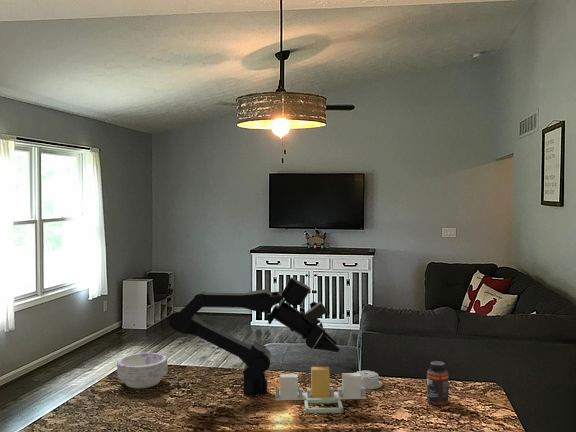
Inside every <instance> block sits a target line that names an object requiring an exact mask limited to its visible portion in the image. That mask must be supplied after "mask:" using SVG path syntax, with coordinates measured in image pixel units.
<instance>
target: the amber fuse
mask: <svg viewBox="0 0 576 432" xmlns="http://www.w3.org/2000/svg"><path fill="white" fill-rule="evenodd" d="M310 373H311V374H310V377H311V379H310V385H311V386H310V389H311V395H312V398H326V397H329V396H330V385H331V384H330V379H331V378H330V367H329V366H311V368H310Z"/></svg>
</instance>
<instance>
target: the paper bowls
mask: <svg viewBox="0 0 576 432" xmlns="http://www.w3.org/2000/svg"><path fill="white" fill-rule="evenodd" d="M167 357H168V356H166V355H165V354H162V353H158V352H140V353H139V352H138V353H134V354H133V353H132V354H129V355H128V354H127V355H126V356H123V357H121V358H119V359H118V360H117V362H116V370H117V371H116V373H117V378H118V379H119V380H120V381H124V384H125V386H127V387H129V388H132V389H148V388H152V387H154V386H156V385H158V384H159V383H160V382H161V380H162V378H163V377H165V376H166V375H167V374H168V358H167Z"/></svg>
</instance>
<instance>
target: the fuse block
mask: <svg viewBox="0 0 576 432" xmlns="http://www.w3.org/2000/svg"><path fill="white" fill-rule="evenodd" d="M326 398H340V400H367V399H368V398H367V395H366V389H365V388H364V387H361V397H343V395H342V386H337V391H335V390H334V387H332V386H331V387H330V396H329V397H326ZM304 399H317V398H312V395H311V387H306V392H304V391H303V387H298V398H280V387H276V388H275V392H274V401H304Z"/></svg>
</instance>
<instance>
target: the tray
mask: <svg viewBox="0 0 576 432" xmlns="http://www.w3.org/2000/svg"><path fill="white" fill-rule="evenodd" d="M341 400H342V399H340V398H317V399H304V400H303V404H304V409H305V413H306V414H331V413H332V414H334V413H335V414H340V413H341V414H343V413H344V412H345V411H344V405H343V404H342V401H341ZM309 404H337V406H338V407H310V406H309Z"/></svg>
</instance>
